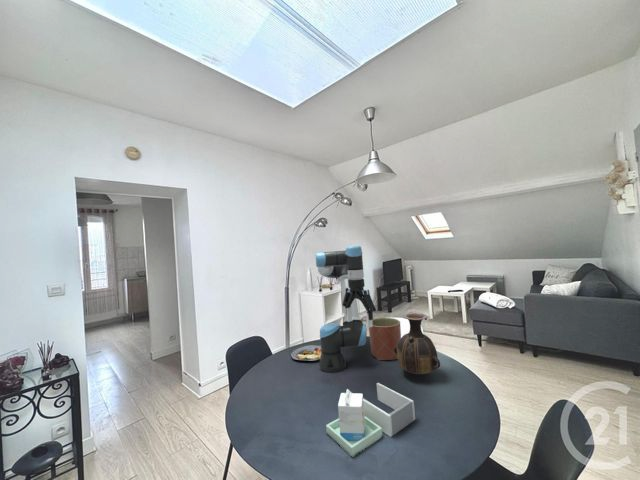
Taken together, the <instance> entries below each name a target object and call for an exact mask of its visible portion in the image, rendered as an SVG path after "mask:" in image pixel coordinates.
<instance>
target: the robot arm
mask: <svg viewBox="0 0 640 480" xmlns="http://www.w3.org/2000/svg"><path fill="white" fill-rule="evenodd" d="M315 265H316V268H317V271H318V273H319V274H320V275H321V276H322V277H324V278H330V279H335V278H336V279H337V281H338V283H340V284H339V285H340V291H341V297H342V298H341V299H342V308H343V314H344V320H343V321H342V325H340V323H338V322H330V323H326V324H324V325H322V326H321V327H320V328H319V338H320V345H321V357H320V359H319V361H318V368H319V370H320V371H322V372H325V373H338V372H341V371H343V370H344V369H345V368H346V366H347V363H346V359H345V357H344V354H343V351H342V348H352V347H353V348H354V347H361V346H364V345H366V344H367V335H368V334H367V333H368V331H367V328H368V329H369V328H370V327H373V322H372V320H373V319H374V315H373V313H375V312H376V311H377V309H376V306H375V304H374V301H373V300H372V297H371V294H370V290H369V289H364V287H365V274H364V262H363V250H362V246H361V245H353V246H352V245H351V246H346V247H345V250H337V251H321V252H316V253H315ZM357 300H358V301H360V302H361V303H362V305H363V308H364V309H365V310H366V313H365V317H366V323H363V319H361V318H360V314H359V307H358V301H357Z"/></svg>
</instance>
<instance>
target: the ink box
mask: <svg viewBox="0 0 640 480" xmlns="http://www.w3.org/2000/svg"><path fill="white" fill-rule="evenodd" d="M363 395H364V394H363V393H356V392H355V393H353V392H352V391H350V389H348V388H347V389H346V392H341V393H340V396H339V400H338V404H337V409H338V418H339V425H340V435H341V436H342V437H343V438H344V439H345V440H350V441H359V440H361V439H362V438H364V437H365V416H364V404H363V399H364V396H363Z"/></svg>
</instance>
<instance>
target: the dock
mask: <svg viewBox="0 0 640 480" xmlns="http://www.w3.org/2000/svg"><path fill="white" fill-rule="evenodd" d="M376 394H377V395H376V397H377V400H378V401H379V402H381V403H383V404H384V405H386V406H387V407H389V408H391V409H393V411H392V412H389V413H387V412H386V411H384V410H383V409H381V408H380V407H378V406H376V405H375V404H373V403H372V402H370V401H368V400H367V399H366V398H363V404H364V416H365V417H367V418H368V419H370V420H371V421H373V422H374V423H375V424H377V425H378V426H380V427H381V428H382V433H384V434H386V435H387V436H389V437H390V438H391V437H393V436H394V435H396V434H397V433H399V432H400V431H401V430H402V429H404V428H406V427H407V426H408V425H410V424H412V422H414V421H415V420H416V412H415V403H414V400H413V399H412V398H409V397H407V396H405V395H403V394H401V393H399V392H397V391H395V390H393V389H391V388H389V387H387V386H386V385H383V384H381V383H380V382H377V383H376Z"/></svg>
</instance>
